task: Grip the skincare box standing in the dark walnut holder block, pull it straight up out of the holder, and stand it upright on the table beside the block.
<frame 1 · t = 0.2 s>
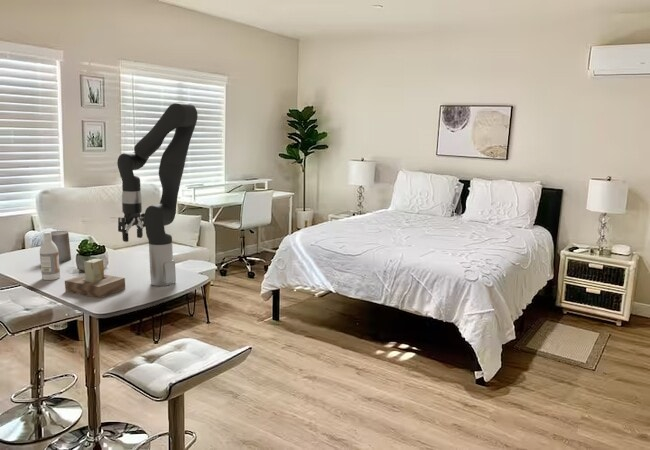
hand: (132, 239, 214), 18 cm above the table, tool pointing down, fingers open, 8 cm apart
bath foam: (51, 278, 218), on the table
skincare box: (95, 290, 202), resting in walnut holder block
walnut holder block: (95, 290, 202), on the table
pillar candle: (59, 260, 247), on the table
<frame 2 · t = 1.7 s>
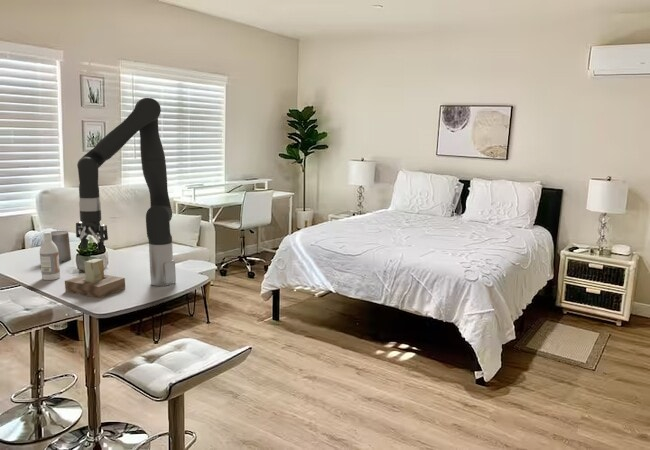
hand: (92, 249, 200), 16 cm above the table, tool pointing down, fingers open, 8 cm apart
nothing on the table moved.
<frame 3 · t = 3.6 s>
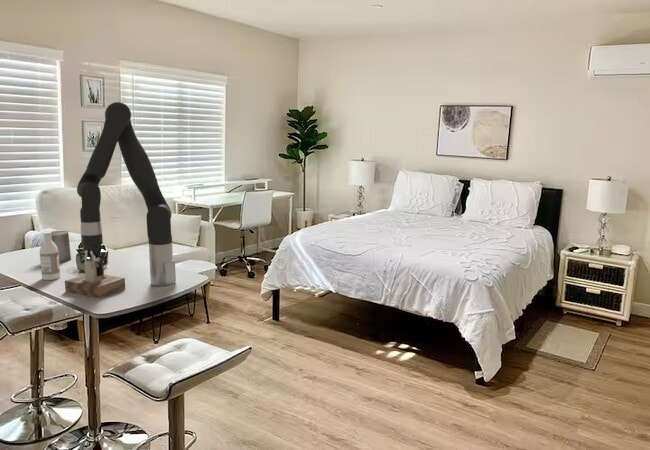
hand: (94, 274, 201), 6 cm above the table, tool pointing down, fingers closed on skincare box, 5 cm apart
skincare box: (95, 290, 202), resting in walnut holder block, touching gripper
everything else where it was.
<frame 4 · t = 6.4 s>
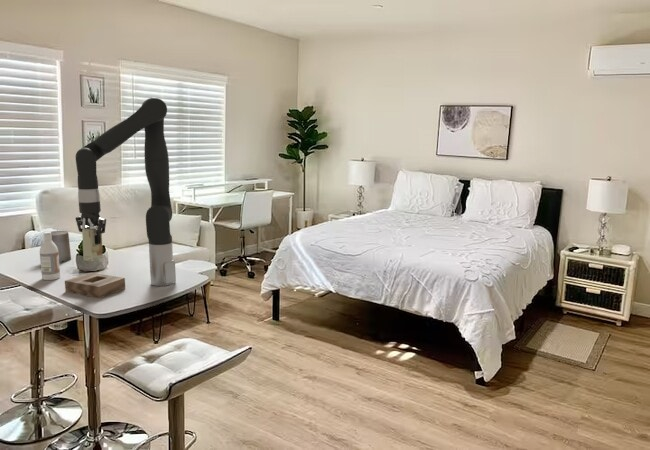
hand: (92, 243, 199), 19 cm above the table, tool pointing down, fingers closed on skincare box, 4 cm apart
skincare box: (93, 259, 200), point 12 cm above the table, touching gripper
everything else where it was.
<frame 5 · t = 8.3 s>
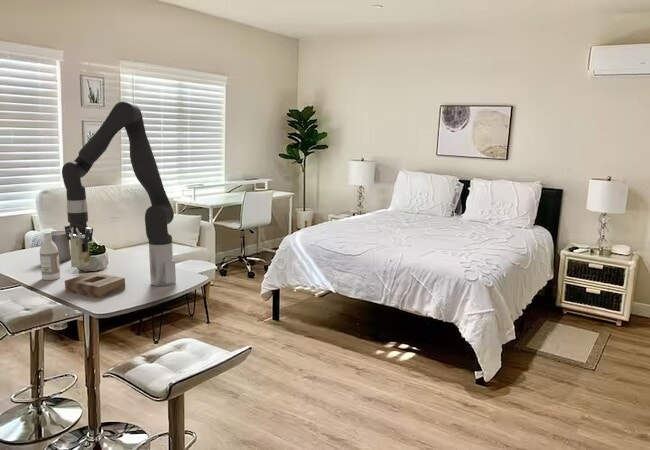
hand: (80, 251, 211), 13 cm above the table, tool pointing down, fingers closed on skincare box, 4 cm apart
skincare box: (80, 266, 212), point 7 cm above the table, touching gripper
everything else where it was.
when the fingers open (8 cm above the table, at t = 9.6 s): skincare box drops 1 cm, on the table.
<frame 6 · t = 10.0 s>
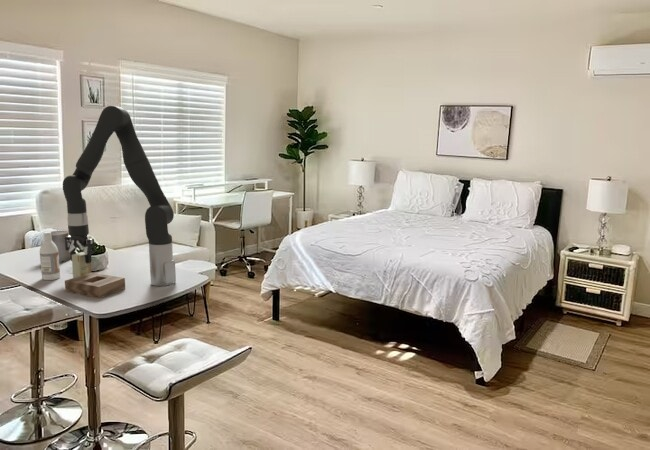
hand: (81, 261, 212), 9 cm above the table, tool pointing down, fingers open, 8 cm apart
skincare box: (83, 282, 213), on the table
everything else where it was.
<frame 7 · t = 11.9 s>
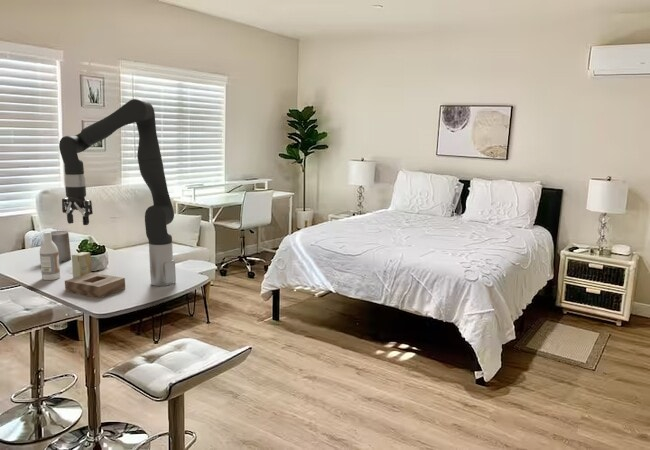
hand: (78, 224, 212), 24 cm above the table, tool pointing down, fingers open, 8 cm apart
nothing on the table moved.
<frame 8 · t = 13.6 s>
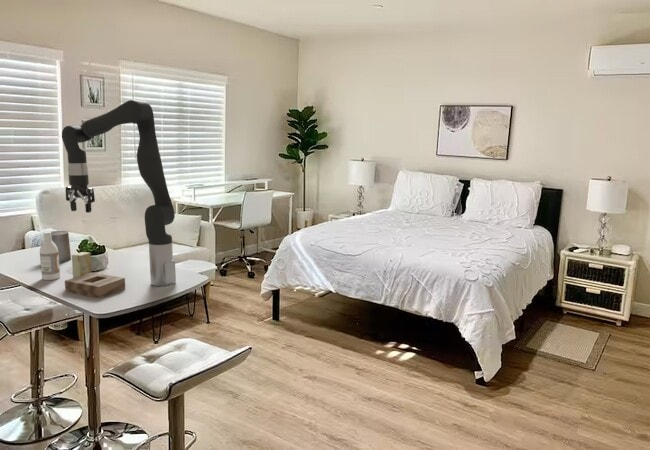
hand: (81, 211, 218), 28 cm above the table, tool pointing down, fingers open, 8 cm apart
nothing on the table moved.
at the end: skincare box inside the target area (0.3 cm from its centre), on the table; skincare box tilted 0°; the gripper is holding nothing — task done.
